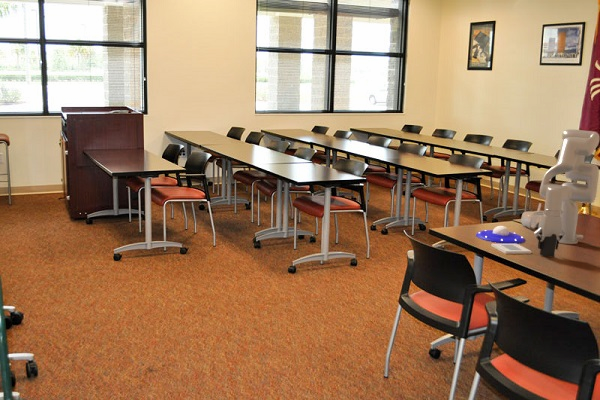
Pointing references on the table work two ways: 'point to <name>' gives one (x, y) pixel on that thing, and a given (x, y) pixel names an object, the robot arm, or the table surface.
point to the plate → (511, 248)
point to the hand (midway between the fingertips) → (547, 248)
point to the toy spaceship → (500, 236)
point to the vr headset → (532, 218)
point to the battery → (549, 246)
